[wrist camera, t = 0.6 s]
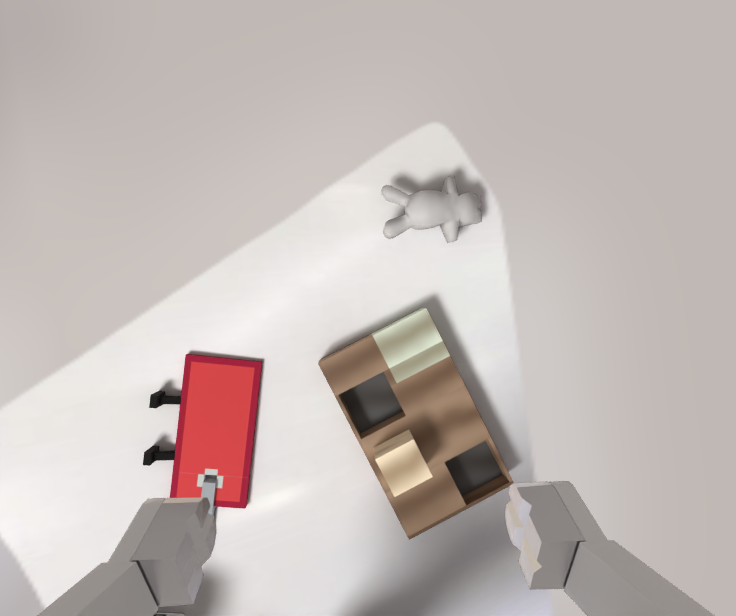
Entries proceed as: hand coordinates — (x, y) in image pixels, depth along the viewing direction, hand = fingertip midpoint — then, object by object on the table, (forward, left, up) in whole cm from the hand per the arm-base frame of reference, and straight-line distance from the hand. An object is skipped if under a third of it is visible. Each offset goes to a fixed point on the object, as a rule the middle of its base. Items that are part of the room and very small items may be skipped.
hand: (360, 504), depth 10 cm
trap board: (-16, -3, -48) cm, 50 cm away
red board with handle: (-6, +29, -48) cm, 56 cm away
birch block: (-19, +2, -45) cm, 49 cm away
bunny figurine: (+11, -19, -48) cm, 53 cm away
